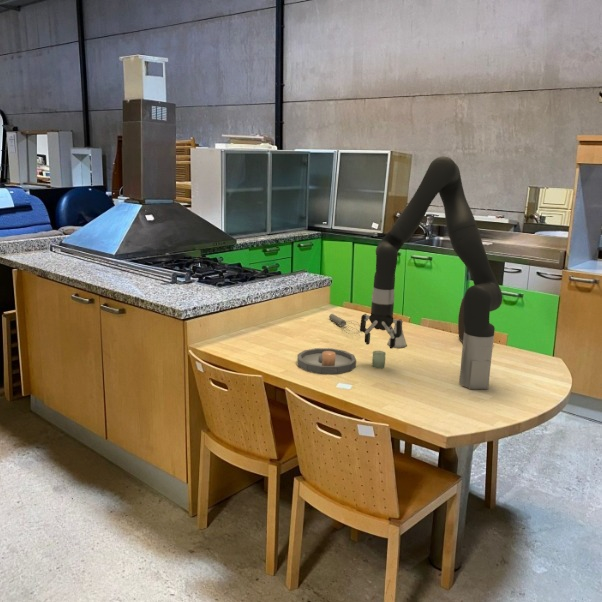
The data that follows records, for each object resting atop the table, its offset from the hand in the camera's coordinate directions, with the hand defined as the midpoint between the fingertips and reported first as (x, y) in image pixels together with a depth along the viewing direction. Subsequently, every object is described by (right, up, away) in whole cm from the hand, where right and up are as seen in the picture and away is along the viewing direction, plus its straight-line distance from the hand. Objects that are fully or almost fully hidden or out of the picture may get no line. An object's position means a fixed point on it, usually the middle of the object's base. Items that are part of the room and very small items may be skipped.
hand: (379, 346), depth 211 cm
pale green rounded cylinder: (0, -7, +1) cm, 7 cm away
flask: (+10, -2, +25) cm, 27 cm away
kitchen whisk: (-10, +4, +46) cm, 47 cm away
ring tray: (-18, -6, +2) cm, 20 cm away
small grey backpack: (+41, -1, +31) cm, 51 cm away
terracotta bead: (-18, -7, -4) cm, 20 cm away
